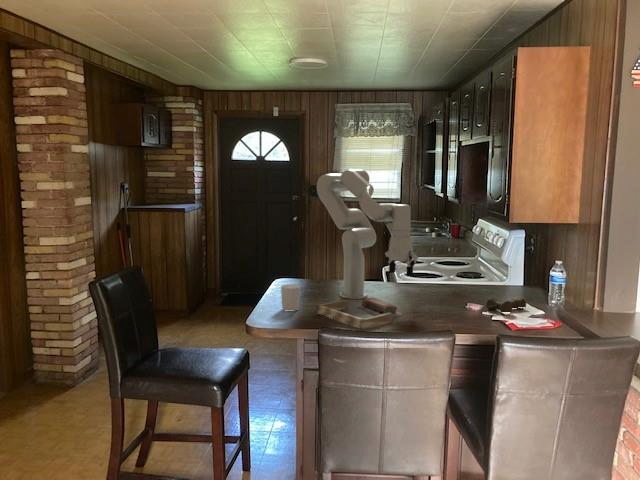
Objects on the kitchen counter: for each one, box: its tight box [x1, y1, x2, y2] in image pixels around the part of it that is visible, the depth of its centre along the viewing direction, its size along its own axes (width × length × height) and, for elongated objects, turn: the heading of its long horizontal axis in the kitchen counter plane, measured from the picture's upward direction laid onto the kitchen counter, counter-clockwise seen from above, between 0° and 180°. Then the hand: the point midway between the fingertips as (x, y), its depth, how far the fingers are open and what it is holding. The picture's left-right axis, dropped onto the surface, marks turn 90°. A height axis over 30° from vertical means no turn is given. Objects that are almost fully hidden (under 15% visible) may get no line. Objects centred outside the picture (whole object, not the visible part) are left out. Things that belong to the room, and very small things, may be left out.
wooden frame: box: [315, 299, 393, 331], centre depth 206 cm, size 27×16×4 cm, turn 40°
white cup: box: [280, 283, 301, 310], centre depth 217 cm, size 8×8×10 cm
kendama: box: [485, 297, 527, 313], centre depth 218 cm, size 6×10×20 cm
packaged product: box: [357, 297, 403, 318], centre depth 216 cm, size 18×5×10 cm
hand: (400, 274), depth 221 cm, fingers open, 9 cm apart
